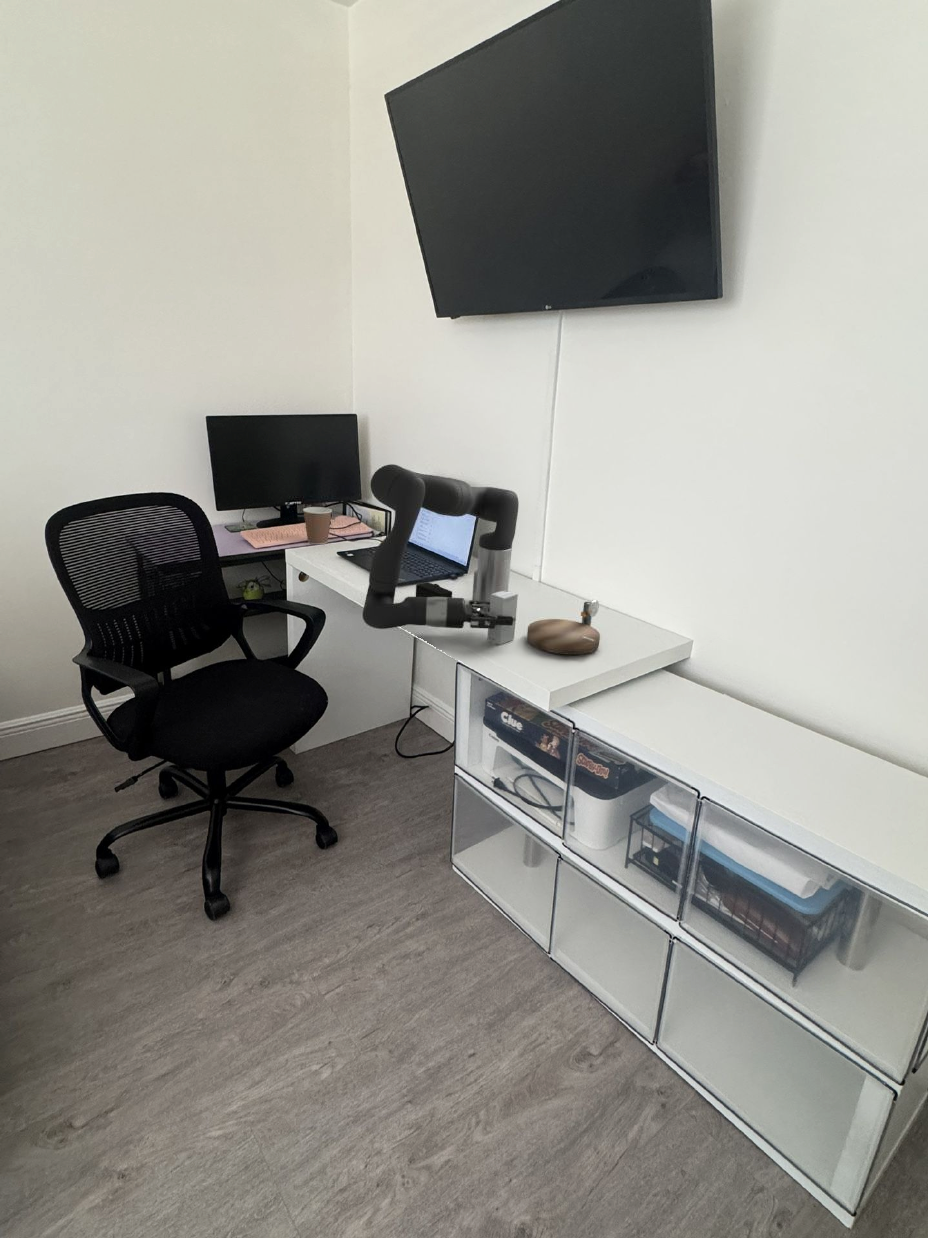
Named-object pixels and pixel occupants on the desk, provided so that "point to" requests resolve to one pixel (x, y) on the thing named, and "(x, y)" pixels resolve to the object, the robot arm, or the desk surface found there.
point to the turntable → (563, 636)
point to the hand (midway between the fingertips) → (511, 615)
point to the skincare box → (503, 606)
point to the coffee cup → (317, 524)
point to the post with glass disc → (589, 611)
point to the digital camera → (431, 590)
